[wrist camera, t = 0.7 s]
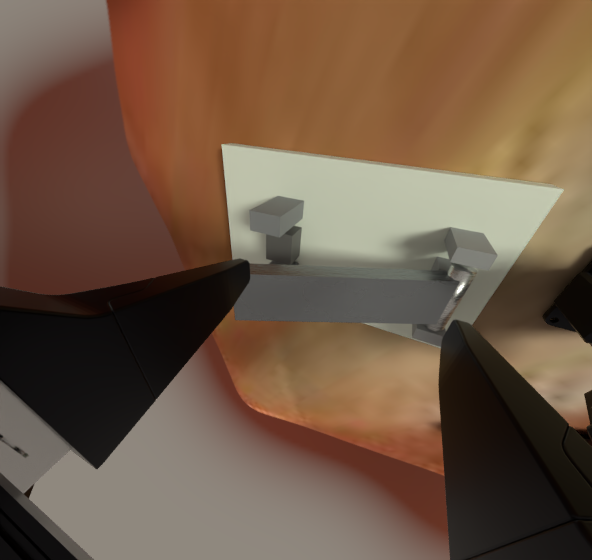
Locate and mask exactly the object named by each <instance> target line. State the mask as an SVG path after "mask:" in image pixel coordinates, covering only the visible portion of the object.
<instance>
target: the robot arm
mask: <svg viewBox="0 0 592 560" xmlns="http://www.w3.org/2000/svg"><path fill="white" fill-rule="evenodd" d="M249 281H250V263H249V261H248V260H244V259H241V258H239V259H234V260H230V261H225V262H221V263H217V264H212V265H208V266H203V267H199V268H194V269H190V270H186V271H181V272H177V273H173V274H169V275H164V276H159V277H156V278H150V279H146V280H142V281H137V282H132V283H127V284H122V285H117V286H111V287H106V288H100V289H95V290H89V291H84V292H78V293H72V294H65V295H45V294H37V293H32V292H27V291H22V290H16V289H11V288H5V287H0V560H94V559H93V558H92V557H90V556H89V555H88V554H87V553H86V552H85V551H84V550H83V549H82V548H81V547H80V546H79V545H78V544H76V542H74V541H73V540H72V539H71V538H70V537H69V536H68V535H67V534H66V533H65V532H64V531H63V530H61V528H59V527H58V526H57V525H56V524H55V523H54V522H53V521H52V520H51V519H50V518H49V517H48V516H47V515H45V514H44V513H43V512H42V511H41V510H40V509H39V508H38V507H37V506H36V505H35V504H33V502H32V501H30V500H29V496H30V494H31V491H32V489H33V486H34V484H35V482H37V481H38V480H39V479H40V478H41V477H42V476H43V475H44V474H45V473H46V472H47V471H48V470H49V469H50V468H52V467H53V466H54V465H55V464H56V463H57V462H58V461H59V460H60V459H61V458H62V457H63V456H64V455H66V454H67V453H68V452H69V451H70V450H72V451H73V452H74V453H75V454H77V455H78V456H79V457H81V458H82V459H83V460H85V461H86V462H87V463H89V464H90V465H91V466H93V467H94V468H95V469H98V468H99V467H100V466H101V465H102V464H103V463H104V462H105V460H106V459H107V458H108V457H109V456H110V454H111V453H112V452H113V451H114V450H115V448H116V447H117V446H118V445H119V444H120V442H121V441H122V440H123V439H124V438H125V436H126V435H127V434H128V433H129V432H130V430H131V429H132V428H133V427H134V426H135V424H136V423H137V422H138V421H139V420H140V418H141V417H142V416H143V415H144V414H145V412H146V411H147V410H148V409H149V408H150V406H151V405H152V404H153V403H154V402H155V400H156V399H157V398H158V397H159V395H160V394H161V393H162V392H163V391H164V389H165V388H166V387H167V386H168V385H169V383H170V382H171V381H172V380H173V379H174V377H175V376H176V375H177V374H178V373H179V371H180V370H181V369H182V368H183V367H184V365H185V364H186V363H187V362H188V361H189V359H190V358H191V357H192V356H193V355H194V353H195V352H196V351H197V350H198V349H199V347H200V346H201V345H202V344H203V343H204V341H205V340H206V339H207V338H208V337H209V335H210V334H211V333H212V332H213V331H214V329H215V328H216V327H217V326H218V325H219V323H220V322H221V321H222V320H223V319H224V317H225V316H226V315H227V314H228V313H229V311H230V310H231V309H232V307H233V306H234V305H235V303H236V301H237V300H238V298H239V297H240V295H241V294H242V292H243V291H244V289H245V288H246V286H247V285H248V283H249ZM554 317H555V319H553V320H551V318H554ZM543 319H544V321H545V322H546V323H547V324H549V325H552V326H555V327H559V328H563V329H567V330H570V331H574V332H577V333H578V334H579V335H580V337H581V338H582V339H583V340H584V341H585V342H586V343H589V344H590V345H591V346H592V261H591V262H590V263H589V265H588V266H587V267H586V268H585V269H584V270H583V271H582V273H579V274H578V275H577V276H576V277H575V278H574V279H573V281H572V282H571V283H570V284H569V285H568V286H567V287H566V288H565V290H564V291H563V292H562V293H561V294H560V295H559V296H558V298H557V299H556V300H555V301H554V304H553V305H552V306H551V307H550V309H549V310H548V311H547V312H546V313H545V314H544V316H543ZM584 395H585V400H586V405H587V410H588V415H589V420H590V425H589V426H587V432H588V435H589V437H590V439H591V441H592V390H591V391H589V392H587V393H585V394H584ZM439 401H440V415H441V430H442V445H443V460H444V475H445V490H446V505H447V519H448V534H449V549H450V560H592V447H591V446H590V445H589V444H588V443H587V442H586V441H585V440H584V439H583V438H582V437H581V436H580V435H579V434H578V432H577V431H576V430H575V429H574V428H573V427H571V426H569V424H568V422H567V421H566V420H565V419H564V418H563V417H562V416H561V415H560V414H559V413H558V412H557V411H556V410H555V409H554V408H553V407H552V406H551V405H550V404H549V403H548V402H547V401H546V400H545V399H544V398H543V397H542V396H541V395H540V394H539V393H538V392H537V391H536V390H535V389H534V388H533V387H532V386H531V385H530V384H529V383H528V382H527V381H526V380H525V379H524V378H523V377H522V376H521V375H520V374H519V373H518V372H517V371H516V370H515V369H514V368H513V367H512V366H511V365H510V364H509V363H508V362H507V361H506V360H505V359H504V358H503V357H502V356H501V355H500V354H499V353H498V352H497V351H496V350H495V349H494V348H493V347H492V346H491V345H490V344H489V343H488V342H487V341H486V340H485V339H484V338H483V336H482V335H481V334H480V333H479V332H478V331H477V330H476V329H475V328H474V327H473V326H472V325H471V324H470V323H468V322H464V321H461V320H457V319H455V320H453V321H452V322H451V324H450V326H449V327H448V329H447V331H446V332H445V334H444V336H443V338H442V342H441V354H440V368H439Z"/></svg>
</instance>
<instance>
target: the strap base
mask: <svg viewBox="0 0 592 560" xmlns="http://www.w3.org/2000/svg"><path fill="white" fill-rule="evenodd" d="M222 154H223V164H224V175H225V185H226V196H227V206H228V217H229V228H230V238H231V249H232V259H233V260H234V259H239V258H241V259H244V260H248V261H249V263H254V264H280V265H306V266H332V267H358V268H384V269H410V270H436V271H448V270H449V268H450V266H451V264H452V263H456V264H461V265H465V266H470V267H473V268H475V269H476V270H477V274H476V276H475V277H474V279H473V281H472V283H471V284H470V286H469V288H468V289H467V291H466V293H465V294H464V296H463V298H462V299H461V301H460V303H459V304H458V306H457V308H456V309H455V311H454V313H453V315H452V316H451V318H450V320H449V321H448V323H447V325H446V326H445V328H444V330H443V331H440V332H437V331H433V330H430V329H429V328H427V327H426V326H425V325H424V324H395V323H364V324H367V325H370V326H373V327H376V328H379V329H382V330H385V331H388V332H391V333H395V334H398V335H401V336H404V337H407V338H410V339H413V340H416V341H419V342H422V343H426V344H429V345H432V346H435V347H438V348H441V342H442V338H443V336H444V334H445V332H446V331H447V329H448V327H449V326H450V324H451V322H452V321H453V320H455V319H457V320H461V321H464V322H468V323H470V324H471V325H472V324H473V323H474V321H475V320H476V319H477V317H478V316H479V314H480V313H481V311H482V310H483V308H484V307H485V305H486V304H487V302H488V301H489V299H490V298H491V296H492V295H493V293H494V292H495V291H496V289H497V288H498V286H499V285H500V283H501V282H502V280H503V279H504V277H505V276H506V274H507V273H508V271H509V270H510V268H511V267H512V266H513V264H514V263H515V261H516V260H517V258H518V257H519V255H520V254H521V252H522V251H523V249H524V248H525V246H526V245H527V243H528V242H529V240H530V239H531V238H532V236H533V235H534V233H535V232H536V230H537V229H538V227H539V226H540V224H541V223H542V221H543V220H544V218H545V217H546V215H547V214H548V213H549V211H550V210H551V208H552V207H553V205H554V204H555V202H556V201H557V199H558V198H559V196H560V195H561V193H562V192H563V190H564V189H562V188H560V187H557V186H555V185H553V184H546V183H538V182H530V181H522V180H514V179H507V178H499V177H491V176H483V175H475V174H468V173H460V172H452V171H444V170H436V169H429V168H421V167H413V166H405V165H397V164H390V163H382V162H374V161H366V160H358V159H351V158H343V157H335V156H327V155H319V154H312V153H304V152H296V151H288V150H280V149H273V148H265V147H257V146H249V145H241V144H234V143H230V144H222Z"/></svg>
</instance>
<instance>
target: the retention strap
mask: <svg viewBox="0 0 592 560" xmlns="http://www.w3.org/2000/svg"><path fill="white" fill-rule="evenodd" d="M476 274H477V270H476V269H475V268H473V267H470V266H465V265H461V264H456V263H452V264H451V266H450V268H449V270H448V271H436V270H410V269H384V268H358V267H332V266H306V265H280V264H254V263H250V281H249V283H248V285H247V286H246V288H245V289H244V291H243V292H242V294H241V295H240V297H239V298H238V300H237V301H236V303H235V305H234V312H235V320H256V321H302V322H348V323H395V324H424V325H425V326H426V327H427V328H429V329H430V330H433V331H437V332H440V331H443V330H444V328H445V326H446V325H447V323H448V321H449V320H450V318H451V316H452V315H453V313H454V311H455V309H456V308H457V306H458V304H459V303H460V301H461V299H462V298H463V296H464V294H465V293H466V291H467V289H468V288H469V286H470V284H471V283H472V281H473V279H474V277H475V276H476Z"/></svg>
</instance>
